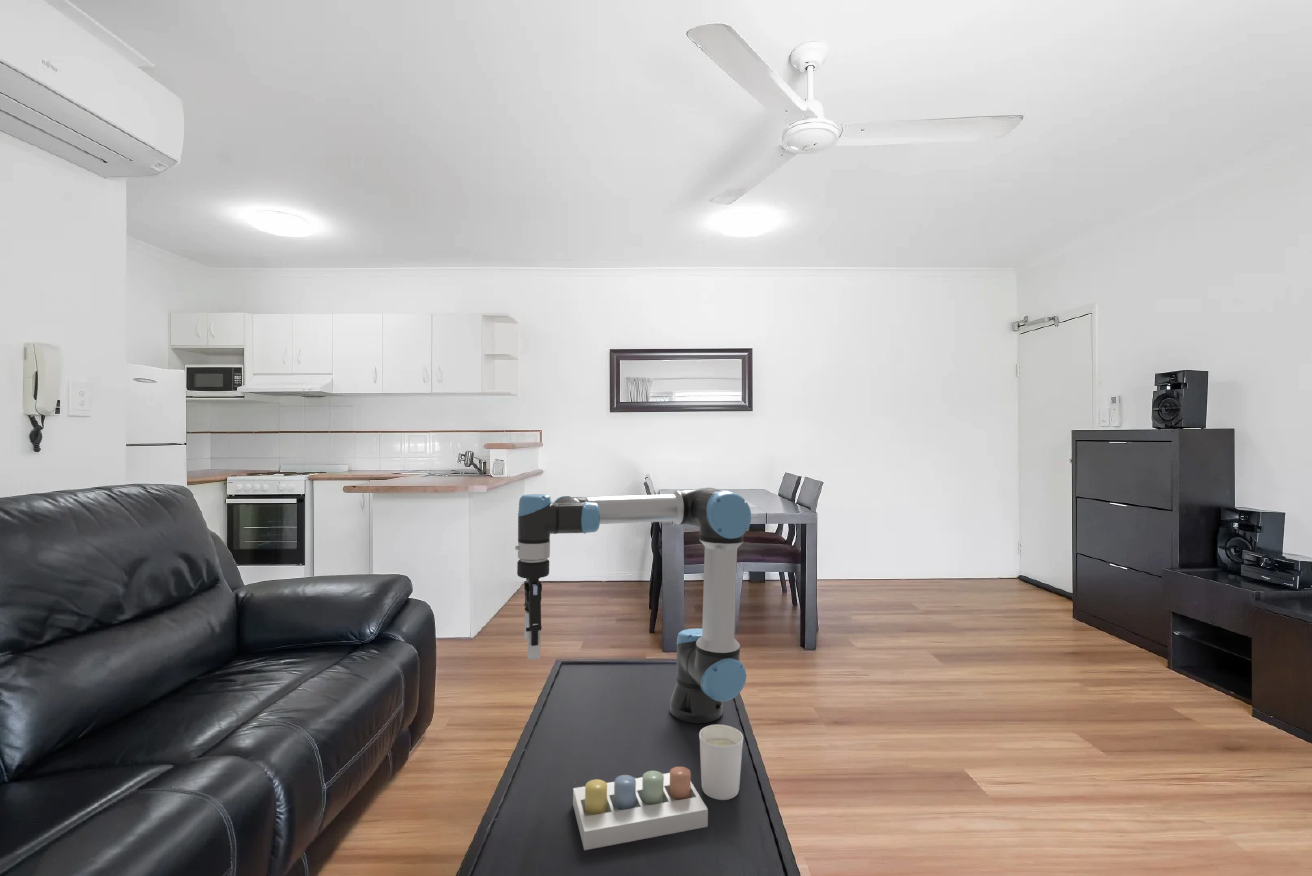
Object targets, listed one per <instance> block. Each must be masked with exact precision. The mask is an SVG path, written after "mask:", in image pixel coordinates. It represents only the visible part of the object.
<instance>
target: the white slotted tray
mask: <svg viewBox="0 0 1312 876" xmlns="http://www.w3.org/2000/svg"><path fill="white" fill-rule="evenodd" d="M662 774H663V776H664V785H663V801H662V802H661V803H660V804H654V805H648V804H646V803H644V802H643V800H642V779H643V776H640V777H634V778H635V780H636V799H635V806H634V807H633V808H631V809H625V810H620V809H617V808H616V807H615V806H614V781H611V782H606V783H607V809H606V811H605V812H604V813H602V814H596V815H590V814H588V813H587V812H586V811H585V786H584V785H583V786H578V787H574V788H572V791H573V793H572V806H573V810H574V815H575V819H576V823H577V826H578V830H579V834H580V838H581V842H582V843H581V844H582V847H583V851H589V850H593V849H598V848H604V847H608V846H609V847H610V846H614V845H620V844H625V843H630V842H636V841H640V840H644V839H651V838H657V837H661V836H666V835H672V834H677V833H683V832H687V831H692V830H697V829H703V828H708V824H709V822H708V821H709V820H708V819H709V809H708V807H707V805H706V804H705V802H704V801H703V799H702V797H701V796H700V794H699V792H698V791H697V789H696V787H695V786H694V784H693V782H692V781H691V785H690V797H689V798H688V799H683V800H675V799H673V798H672V797H671V796H670V772H667V773H662Z"/></svg>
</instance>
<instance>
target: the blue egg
mask: <svg viewBox="0 0 1312 876" xmlns="http://www.w3.org/2000/svg"><path fill="white" fill-rule="evenodd" d="M635 778H636V777H634V776H632V775H628V774H622V775H618V776H617V777H615V779H614V781H613V782H614V806H615V807H616V808H617V809H620V810H625V809H631V808H633V807H634V806H635V799H636V780H635Z"/></svg>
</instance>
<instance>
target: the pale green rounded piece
mask: <svg viewBox="0 0 1312 876" xmlns="http://www.w3.org/2000/svg"><path fill="white" fill-rule="evenodd" d="M663 774H664V773H662V772H660V771H657V770H648V771H646V772H644V773H643V774H642V777H643V779H642V800H643V802H644V803H646V804H648V805H654V804H660V803H661V802H662V801H663V785H664V776H663Z"/></svg>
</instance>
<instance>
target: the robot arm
mask: <svg viewBox="0 0 1312 876" xmlns="http://www.w3.org/2000/svg"><path fill="white" fill-rule="evenodd" d="M518 501H519V502H518V513H517V542H518V543H517V544H518V545H515V546H514V549H515V550H516V551H517V559H519V560H518V561H517V562H516V563H517V564H516V565H517V566H516V568H517V570H516V571H517V572H516V573H517V574H516V575H517V577H519V578H521V579H525V582H524V583H523V589H524V597H525V598H524V603H523V604H524V605H523V606H524V630H523V631H524V633H523V634H524V636H523V637H524V638H523V639H524V640H527V660H537V659H538V660H539V659H541V636H542V635H541V632H542V629H543V627H542V590H543V584H542V582H541V581H540V580H539V579H541V578H545V577H547V576H549V574H550V560H549V558H550V556H551V555H550V554H551V540H550V539H551V534H552V535H557V534H584V535H585V534H589V533H597V532H598V530H599V528H600V525H608V524H610V525H611V524H612V525H613V524H632V523H633V524H634V523H636V524H637V523H640V524H641V523H659V522H661V523H662V522H673V523H675V525H678V526H679V525H689V526H694V527H698V528H699V536H698V537H699V542H700V543H701V544H702V545H703V547H704V562H703V563H704V564H703V565H704V567H703V569H704V570H703V592H702V593H703V595H702V596H703V597H702V600H703V601H702V625H701V627H702V628H688V629H683V630H681V631H679V632H678V634H677V639H676V643H675V644H676V679H675V680H676V682H675V686H674V689H673V692H672V695H671V698H670V700H669V712H670V713H671V716H673V717H674V718H675V719H677V720H680V721H683V722H686V723H691V724H706V723H707V724H708V723H712V722H714V721H717V720H719V719H720V718H721V717H722V716H723V702H727V701H731V700H732V699H734V698H736V697H737V696H738V694H739V693H741V692H742V691H743V689H744V687H745V684H746V682H747V672H746V668H745V666H744V664H743V663H742V662H741V661H740V656H741V655H740V652H741V651H740V650H741V649H740V647H741V644H740V643H739V641H738V640H737V639H736V638H735V626H736V625H735V623H736V595H737V593H736V592H737V591H736V590H737V564H738V563H737V561H738V560H737V559H738V548H739V547H740V546H741V545H742V544H743V543H744V534H745V533H746V532H747V530H749V528H750V527H751V526H750V525H751V523H752V512H751V508H750V506H749V504H748V502H747V501H746V499H745V498H744V497H743V496H742V495H739V494H738V493H735V492H734V491H731V490H726V489H720V488H715V487H701V488H695V489H684V490H675V491H674V492H673V493H671V494H669V493H668V494H641V495H639V494H637V495H607V496H573V497H572V496H570V495H565V496H564V495H563V496H560V497H557V498H556V499H555V500H554V501H553V502H552V500H551V496H550V495H549V494H544V493H543V494H542V493H541V494H539V493H530V494H524V495H522V496H521V497H520V498H519V500H518ZM720 716H721V717H720Z"/></svg>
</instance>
